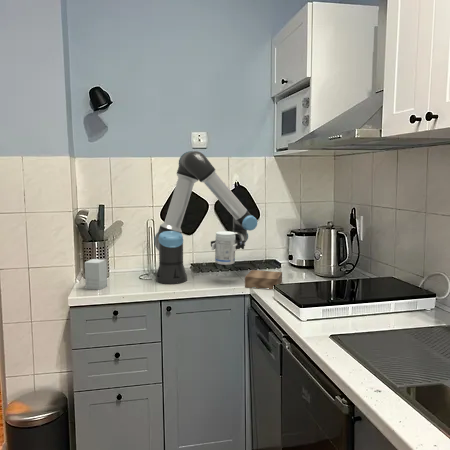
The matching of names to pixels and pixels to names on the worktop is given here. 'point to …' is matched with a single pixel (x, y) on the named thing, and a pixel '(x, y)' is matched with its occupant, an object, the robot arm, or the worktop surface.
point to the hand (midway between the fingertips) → (222, 247)
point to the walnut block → (262, 279)
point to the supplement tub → (224, 247)
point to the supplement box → (95, 274)
